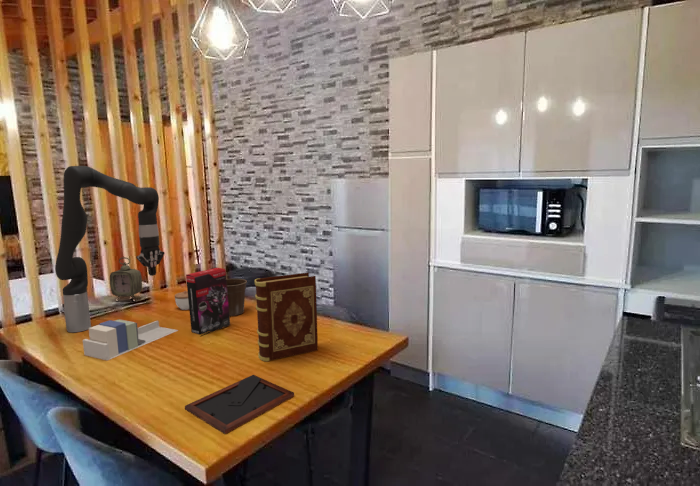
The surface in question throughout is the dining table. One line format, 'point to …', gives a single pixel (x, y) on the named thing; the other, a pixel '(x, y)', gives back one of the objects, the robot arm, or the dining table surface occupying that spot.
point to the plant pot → (236, 295)
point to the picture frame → (238, 403)
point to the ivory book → (105, 337)
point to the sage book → (130, 333)
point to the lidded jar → (182, 300)
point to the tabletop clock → (125, 281)
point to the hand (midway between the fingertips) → (152, 275)
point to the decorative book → (286, 315)
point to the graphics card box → (208, 300)
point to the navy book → (118, 334)
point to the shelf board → (144, 333)
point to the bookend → (138, 338)
